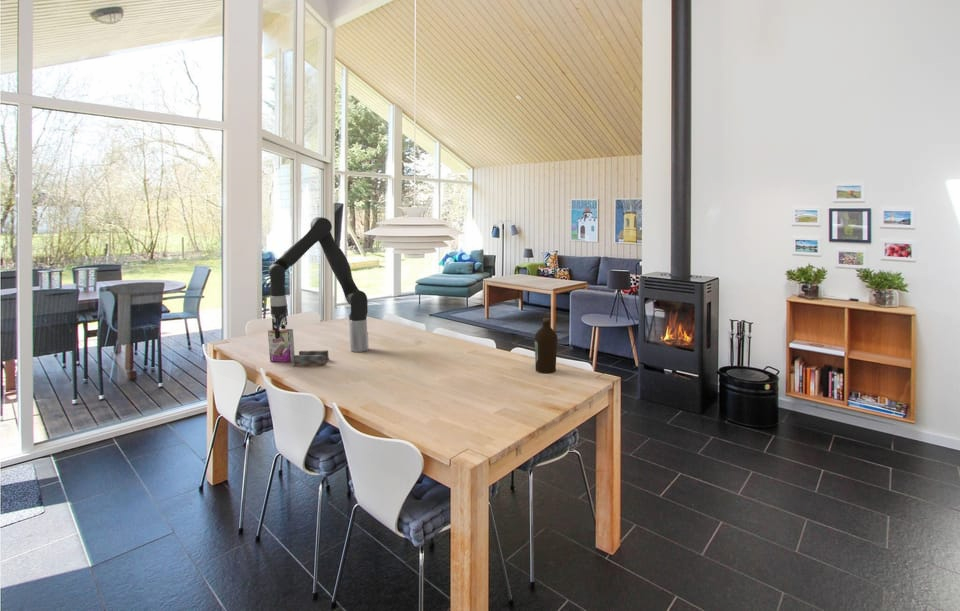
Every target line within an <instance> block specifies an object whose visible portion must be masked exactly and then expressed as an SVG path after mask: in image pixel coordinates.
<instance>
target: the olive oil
mask: <svg viewBox="0 0 960 611" xmlns="http://www.w3.org/2000/svg"><path fill="white" fill-rule="evenodd" d="M558 342H559V340H558V334H557V333H556V331H554V329H553V328H552V327H551V319H550V318H549V317H543V318H542V326H541V327H540V328H539V329H538V330H537V332H535V336H534V358H535V366H534V367H535V372H537V373H540V374H553V373H555V372H556V370H557V355H558V353H557V352H558Z"/></svg>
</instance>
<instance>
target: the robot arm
mask: <svg viewBox="0 0 960 611" xmlns="http://www.w3.org/2000/svg"><path fill="white" fill-rule="evenodd" d="M332 228H333V225H332V222H331V221H330V220H329V219H328V218H326V217H322V216H321V217H320V216H318V217H314V218H313V219H312V220H311V222H310V228H309V230H308V231H307V233H306V234H305V235H304V236H302V238H300V239H298V241H296V242H295V243H294V244H292V245H291V246H290V247H289V248H288V249H287V250H286V251H285V252H284V253H283V254H282V255H281V256H280V257H279V258H278V259H276V260H275V261H274V262H273V263H271V265H270V266H269V267H268V270H267V272H268V275H269V278H270V286H269V296H270V298H269V300H270V301H269V302H270V314H271V315H273V316H274V317H273V318H271V324H272V325H271V327H272V328H271V329H272V330H274V331H275V338H280V329H287V328H286V327H287V326H288V317H287V316H288V315H287V313H288V305H287V296H286V287H285V286H286V284H285V283H286V271H287V270H288V269H289V268H290V267H292V266H294V265H295V264H296V263H297V262H298V261H299V260H300V259H301V258H302V257H303V256H304V255H305V254H306V252H308V251H309V250H310V249H311V248H312V247H313V246H314V245H315V244H316V243H318V242H319V244H320V247H321V248H322V251H323V253H324V256H325V258H326V260H327V263H328V265H329V266H330V269H331V271H332V272H333V274H334V276H335V278H336V280H337V281H338V283H339V285H340V287H341V290H342V292H343V295H344V297H345V299H346V302H347V304H349V305H350V314H349V315H348V321H349V322H348V324H349V344H350V351H351V352H353V353H361V352H367V351H368V350H369V332H368V325H367V324H368V322H367V319H368V318H367V316H368V308H369V306H368V303H369V302H368V296H367V294H366V293H365V292H364V291H363V290H360V289H359V288H358V287H357V285H356V282H355V281H354V279H353V274H352V270H351V268H352V267H351V266H350V263H349V261H348V258H347V257H346V255H345V254H344V251H343V250H342V249H341V247H340V246H339V245H338V244H337V242H336V241H335V239H334V236H333V235H332V233H331V231H332Z"/></svg>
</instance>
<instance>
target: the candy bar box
mask: <svg viewBox="0 0 960 611" xmlns="http://www.w3.org/2000/svg"><path fill="white" fill-rule="evenodd" d="M267 336H268V337H267V338H268V347H269V348H268V350H269V352H268V353H269V362H275V363H276V362H277V363H292V362H294V356H295V355H296V353H295V342H294V329H293V328H286V329H281V328H280V338H275V331H274V330H272V328H271V329H267Z"/></svg>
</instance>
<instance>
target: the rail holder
mask: <svg viewBox="0 0 960 611" xmlns="http://www.w3.org/2000/svg"><path fill="white" fill-rule="evenodd" d="M329 360H330V357H329V350H327V349H326V350H300V351H298V355H297V354H295V356H294V361H293V367H298V368H301V367H302V368H304V367H307V368H308V367H324V366H325V365H326V364H327V363H328V361H329ZM323 365H324V366H323Z"/></svg>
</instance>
